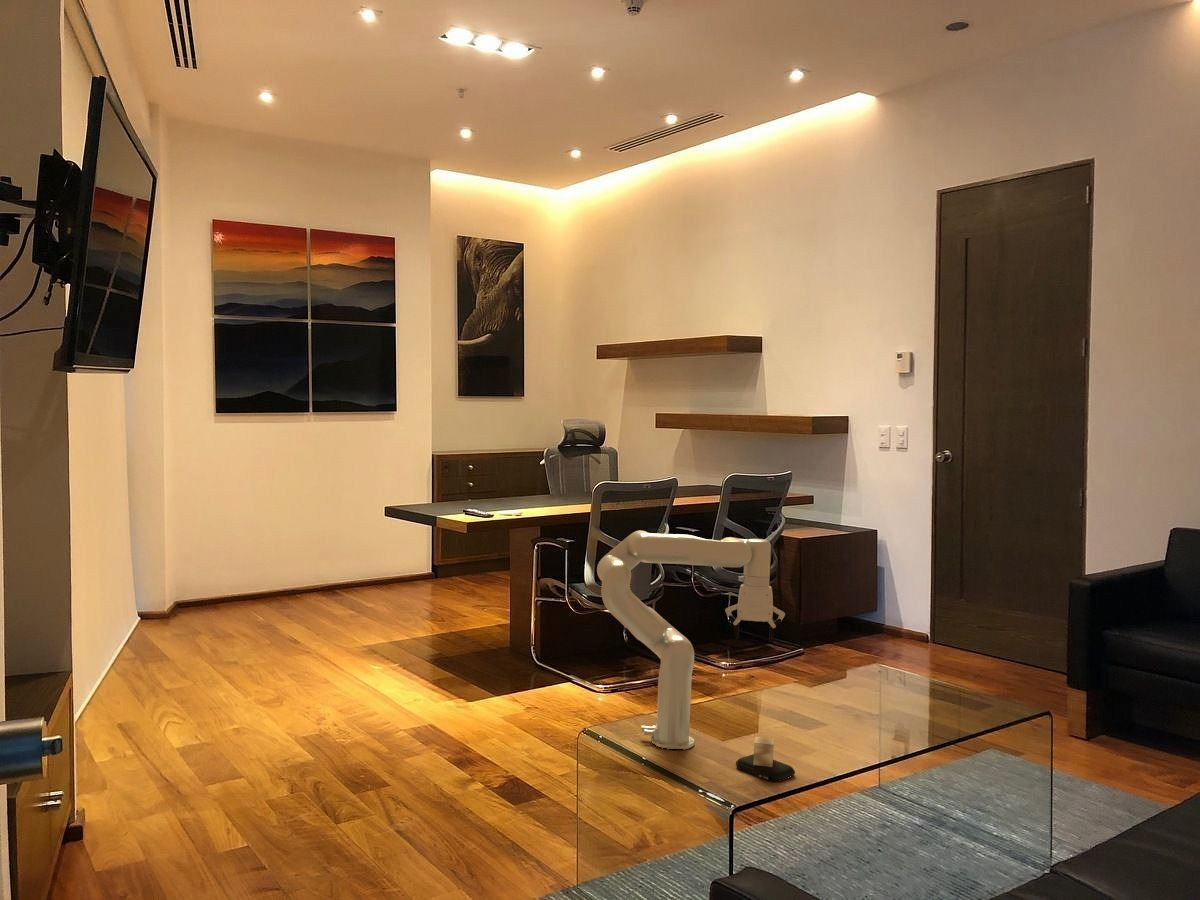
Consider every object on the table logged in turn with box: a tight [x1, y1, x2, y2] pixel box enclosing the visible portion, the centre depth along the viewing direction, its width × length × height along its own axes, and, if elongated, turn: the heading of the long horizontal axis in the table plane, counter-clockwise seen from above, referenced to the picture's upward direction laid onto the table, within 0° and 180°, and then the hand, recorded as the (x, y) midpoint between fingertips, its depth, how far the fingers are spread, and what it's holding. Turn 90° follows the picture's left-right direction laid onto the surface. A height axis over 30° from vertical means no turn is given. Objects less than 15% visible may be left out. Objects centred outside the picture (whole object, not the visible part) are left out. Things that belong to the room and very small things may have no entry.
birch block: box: [753, 736, 775, 767], centre depth 253 cm, size 5×5×6 cm
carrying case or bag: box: [735, 753, 796, 783], centre depth 253 cm, size 11×3×15 cm
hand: (753, 639), depth 277 cm, fingers open, 9 cm apart
